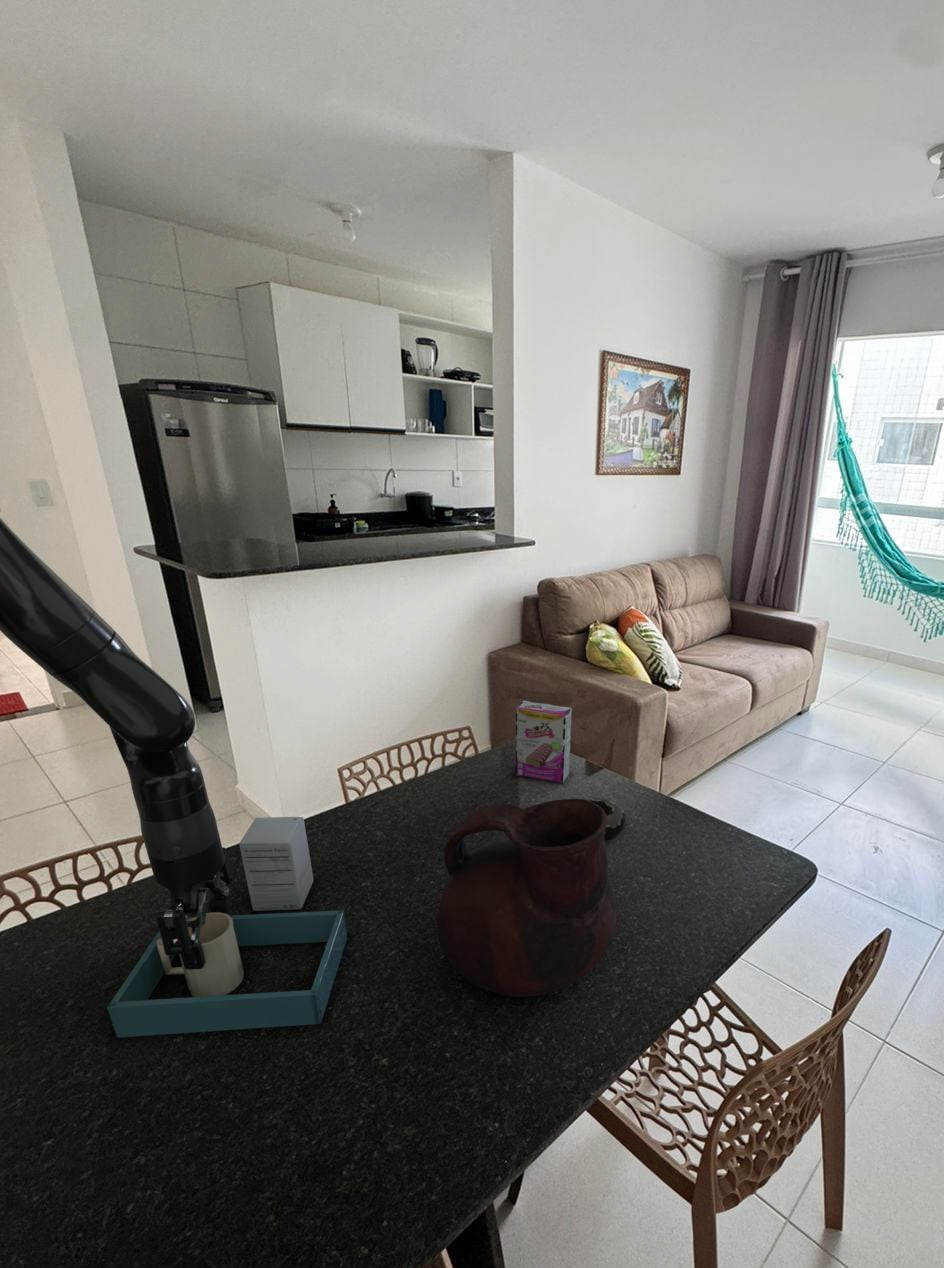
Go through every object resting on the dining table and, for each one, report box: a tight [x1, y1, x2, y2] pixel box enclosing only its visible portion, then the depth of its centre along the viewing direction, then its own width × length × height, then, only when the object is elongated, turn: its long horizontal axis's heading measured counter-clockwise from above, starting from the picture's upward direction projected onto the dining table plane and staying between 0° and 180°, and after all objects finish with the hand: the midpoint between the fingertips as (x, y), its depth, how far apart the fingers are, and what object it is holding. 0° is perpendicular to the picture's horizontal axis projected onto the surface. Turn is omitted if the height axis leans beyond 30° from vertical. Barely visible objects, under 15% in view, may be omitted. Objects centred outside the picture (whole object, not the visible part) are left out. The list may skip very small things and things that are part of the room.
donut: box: [583, 797, 627, 841], centre depth 127 cm, size 12×12×4 cm
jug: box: [436, 798, 618, 998], centre depth 91 cm, size 25×25×25 cm
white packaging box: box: [238, 816, 314, 912], centre depth 103 cm, size 7×7×13 cm
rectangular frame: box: [106, 909, 348, 1039], centre depth 88 cm, size 24×16×5 cm, turn 97°
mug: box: [156, 912, 245, 997], centre depth 87 cm, size 9×6×9 cm
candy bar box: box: [515, 700, 573, 784], centre depth 142 cm, size 11×5×16 cm, turn 77°
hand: (209, 942), depth 86 cm, fingers open, 8 cm apart
